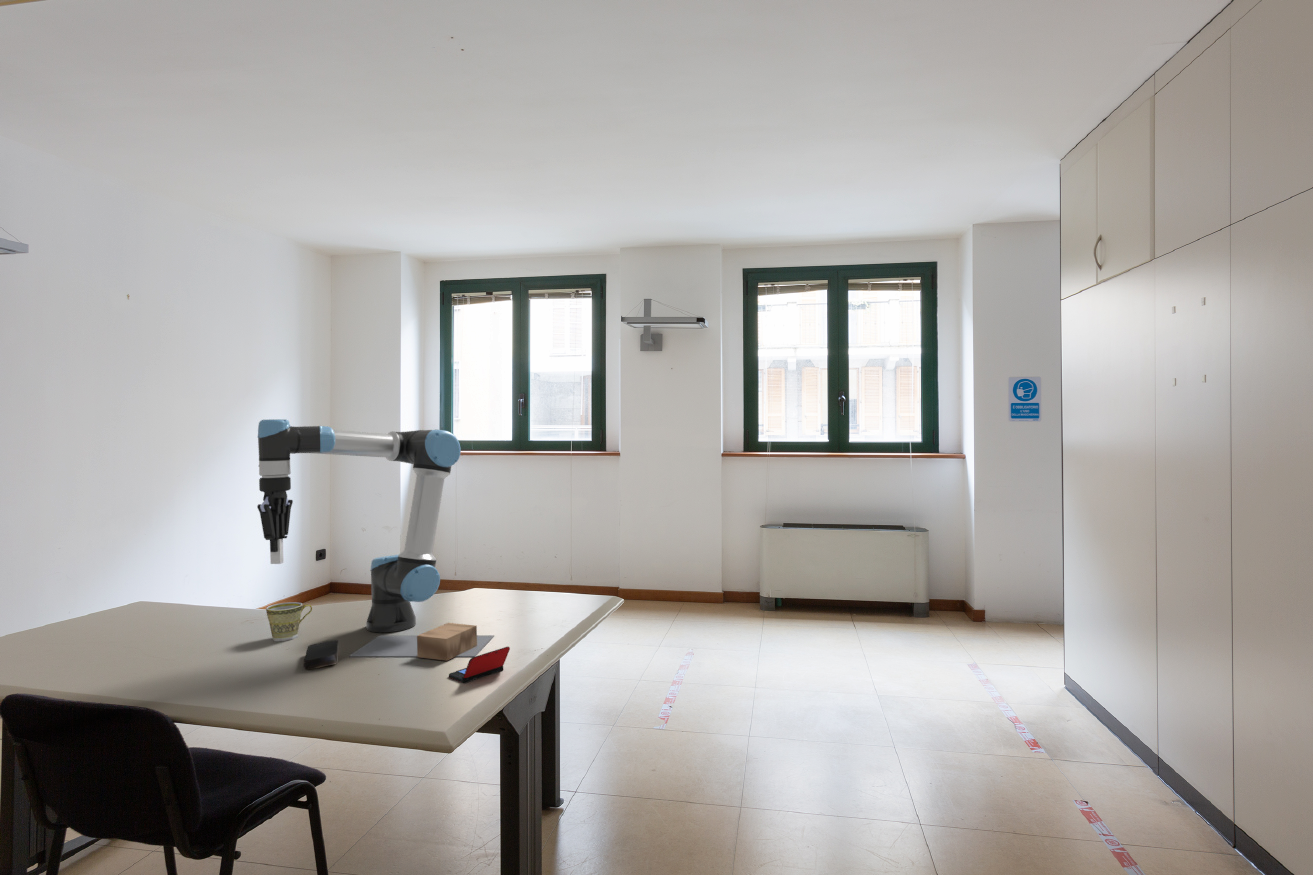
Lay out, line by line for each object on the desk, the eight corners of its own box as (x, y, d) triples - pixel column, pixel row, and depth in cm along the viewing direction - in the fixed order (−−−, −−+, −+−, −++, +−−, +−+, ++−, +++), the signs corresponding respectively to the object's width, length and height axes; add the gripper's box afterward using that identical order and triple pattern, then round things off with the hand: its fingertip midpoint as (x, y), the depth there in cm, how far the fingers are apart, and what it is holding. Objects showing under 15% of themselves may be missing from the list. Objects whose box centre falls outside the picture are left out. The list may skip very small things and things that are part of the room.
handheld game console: (487, 665, 196) (486, 638, 196) (511, 674, 189) (511, 645, 188) (446, 678, 186) (446, 649, 186) (471, 687, 179) (470, 657, 179)
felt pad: (379, 636, 224) (379, 635, 224) (494, 636, 222) (494, 635, 222) (349, 656, 204) (349, 655, 204) (474, 657, 202) (474, 656, 202)
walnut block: (417, 657, 202) (448, 642, 215) (447, 660, 198) (476, 645, 212) (416, 635, 202) (448, 622, 215) (446, 638, 198) (476, 625, 211)
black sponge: (337, 668, 196) (337, 654, 196) (303, 672, 192) (302, 658, 192) (339, 651, 211) (339, 638, 211) (307, 655, 207) (307, 642, 207)
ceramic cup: (271, 645, 216) (270, 611, 216) (263, 638, 224) (262, 606, 224) (317, 636, 225) (316, 604, 225) (307, 629, 232) (307, 598, 232)
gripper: (275, 474, 202) (277, 559, 202) (246, 478, 189) (248, 568, 189) (301, 474, 201) (303, 558, 202) (274, 477, 188) (276, 568, 189)
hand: (277, 563), depth 195 cm, fingers closed
